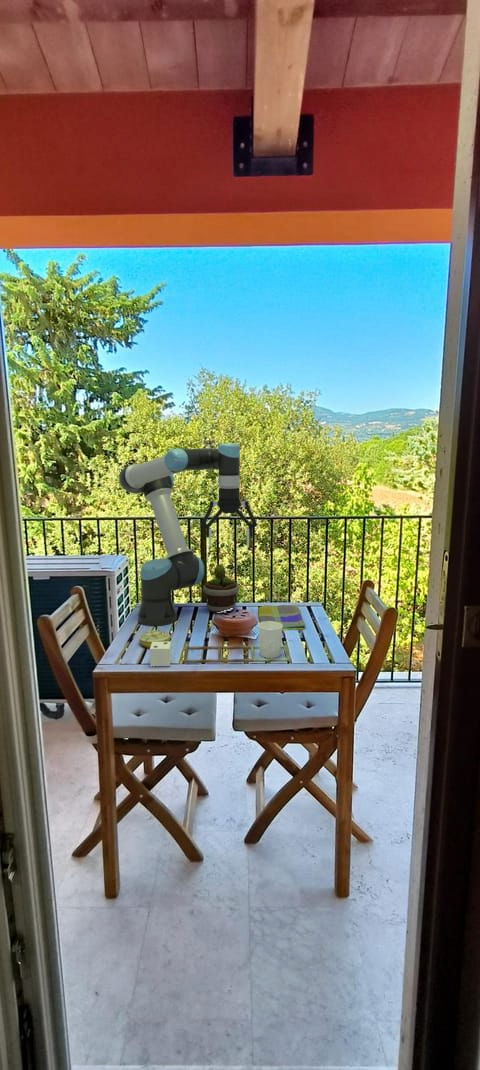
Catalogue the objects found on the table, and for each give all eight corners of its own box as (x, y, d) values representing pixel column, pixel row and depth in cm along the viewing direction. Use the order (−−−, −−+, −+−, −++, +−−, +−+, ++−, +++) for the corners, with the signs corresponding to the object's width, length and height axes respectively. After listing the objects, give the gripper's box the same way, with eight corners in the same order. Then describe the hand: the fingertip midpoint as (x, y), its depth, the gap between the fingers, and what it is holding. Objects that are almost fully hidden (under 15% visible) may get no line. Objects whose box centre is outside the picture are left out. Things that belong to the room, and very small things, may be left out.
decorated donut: (166, 636, 193) (165, 626, 192) (173, 647, 183) (173, 636, 183) (137, 640, 189) (136, 630, 189) (143, 651, 180) (142, 640, 179)
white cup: (275, 660, 172) (275, 631, 170) (253, 655, 176) (253, 626, 174) (286, 652, 178) (286, 623, 176) (265, 648, 182) (265, 619, 180)
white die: (150, 667, 167) (149, 648, 166) (152, 659, 173) (152, 641, 171) (169, 667, 167) (169, 648, 166) (171, 659, 173) (171, 641, 172)
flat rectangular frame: (183, 662, 170) (183, 661, 170) (185, 648, 182) (185, 646, 182) (290, 661, 171) (290, 659, 171) (285, 647, 183) (285, 645, 183)
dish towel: (259, 631, 200) (259, 624, 199) (257, 610, 224) (257, 604, 223) (306, 631, 200) (306, 624, 199) (299, 610, 223) (299, 604, 223)
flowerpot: (240, 615, 216) (240, 567, 212) (202, 616, 215) (201, 567, 211) (238, 604, 230) (238, 559, 227) (202, 605, 229) (202, 559, 226)
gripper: (263, 486, 195) (262, 543, 199) (194, 486, 194) (195, 544, 198) (265, 488, 188) (264, 547, 191) (193, 488, 187) (194, 548, 190)
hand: (229, 546), depth 194 cm, fingers open, 13 cm apart
